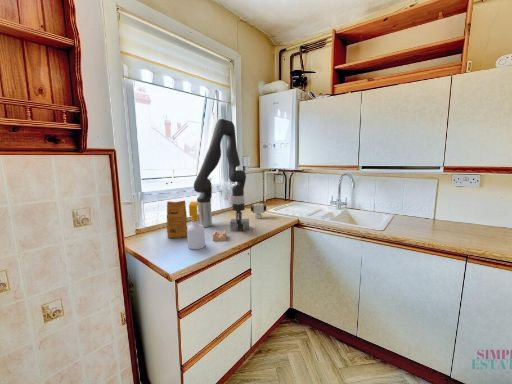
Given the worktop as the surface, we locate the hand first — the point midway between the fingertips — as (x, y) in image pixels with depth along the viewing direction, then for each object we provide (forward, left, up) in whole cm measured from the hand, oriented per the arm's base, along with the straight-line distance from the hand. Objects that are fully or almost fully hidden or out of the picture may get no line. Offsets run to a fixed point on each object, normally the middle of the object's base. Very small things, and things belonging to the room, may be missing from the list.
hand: (239, 229), depth 148 cm
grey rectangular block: (0, +6, -2) cm, 7 cm away
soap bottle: (-22, -22, -2) cm, 31 cm away
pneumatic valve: (+13, +32, -2) cm, 35 cm away
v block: (-11, -11, -2) cm, 15 cm away
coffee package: (-38, -4, -2) cm, 38 cm away
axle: (0, +10, -2) cm, 10 cm away
